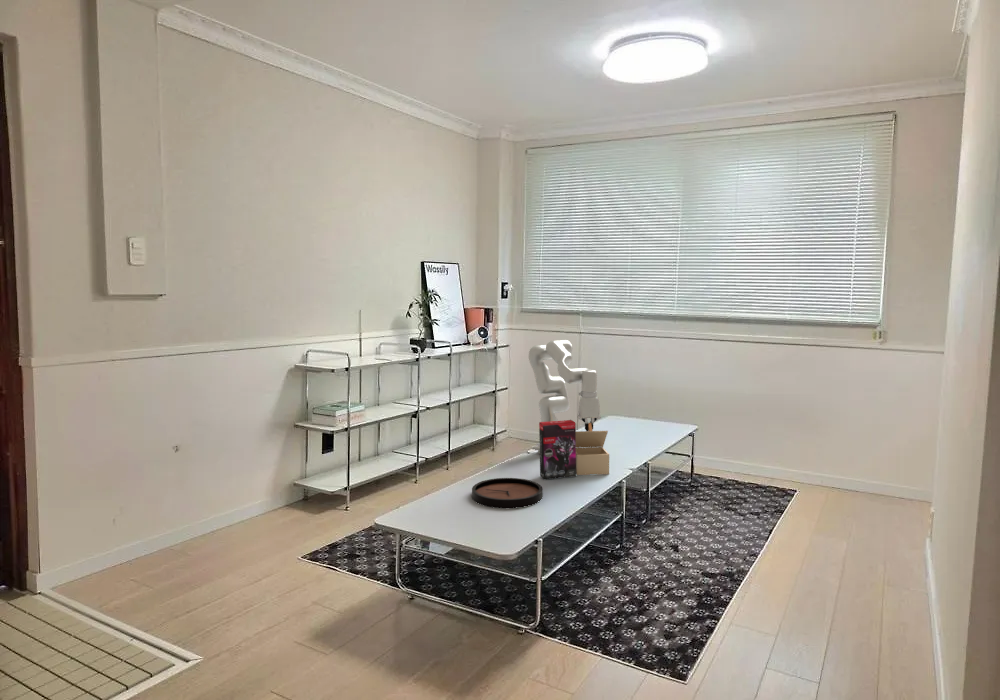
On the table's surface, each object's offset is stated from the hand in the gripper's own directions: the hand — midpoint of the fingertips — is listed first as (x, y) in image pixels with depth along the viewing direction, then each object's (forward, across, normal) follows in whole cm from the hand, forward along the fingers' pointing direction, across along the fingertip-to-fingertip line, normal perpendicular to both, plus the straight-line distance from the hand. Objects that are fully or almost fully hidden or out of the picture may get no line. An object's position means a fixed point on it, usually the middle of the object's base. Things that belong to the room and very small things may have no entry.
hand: (589, 430), depth 340 cm
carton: (+20, 0, -3) cm, 20 cm away
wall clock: (+20, -45, -38) cm, 62 cm away
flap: (+4, 0, -1) cm, 5 cm away
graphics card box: (+20, -18, -12) cm, 29 cm away
